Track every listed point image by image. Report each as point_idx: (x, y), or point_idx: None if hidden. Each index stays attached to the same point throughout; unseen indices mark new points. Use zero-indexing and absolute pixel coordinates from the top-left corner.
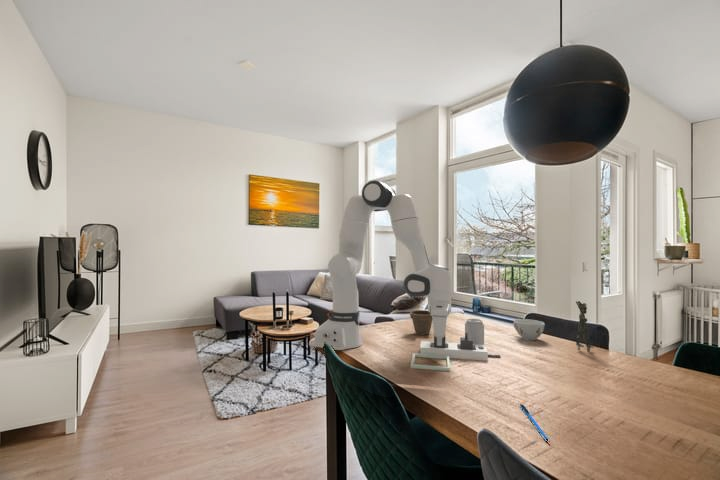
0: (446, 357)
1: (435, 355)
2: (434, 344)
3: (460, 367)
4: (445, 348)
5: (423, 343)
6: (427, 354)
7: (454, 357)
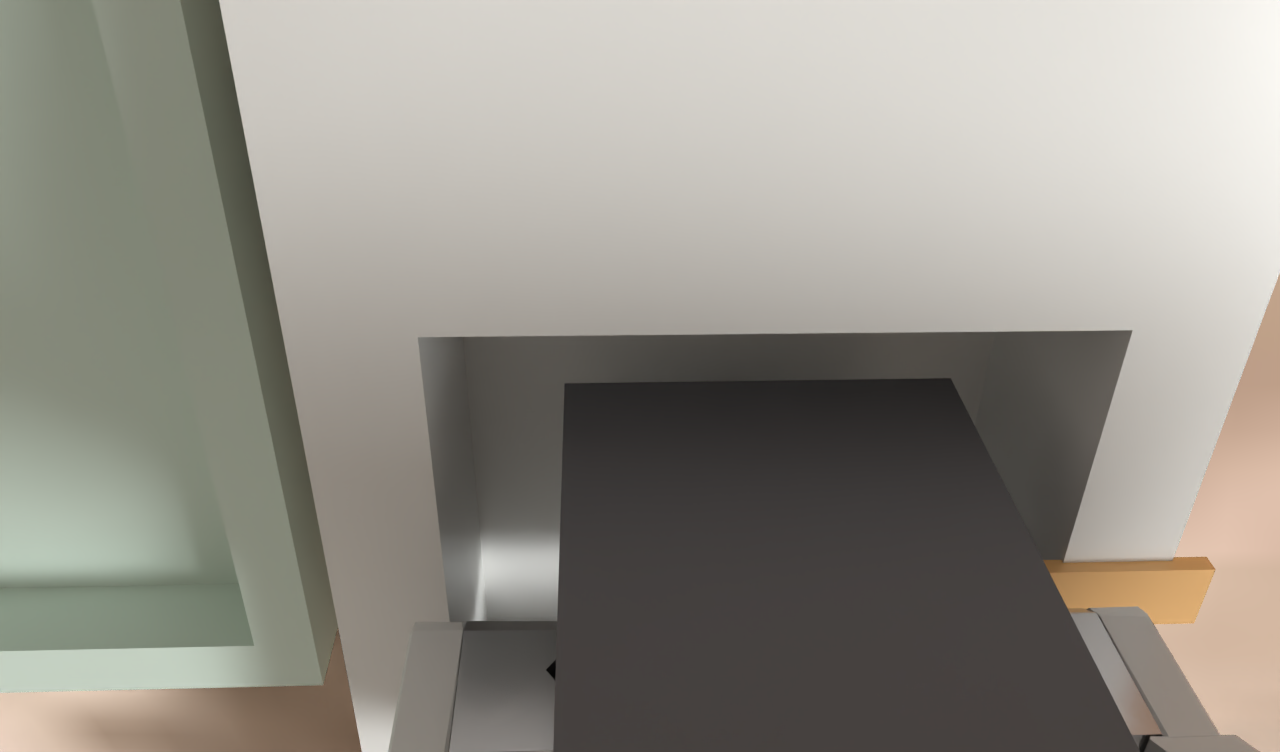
0: (258, 614)
1: (193, 394)
2: (563, 521)
3: (36, 748)
4: None
5: (954, 38)
6: (170, 156)
7: None
